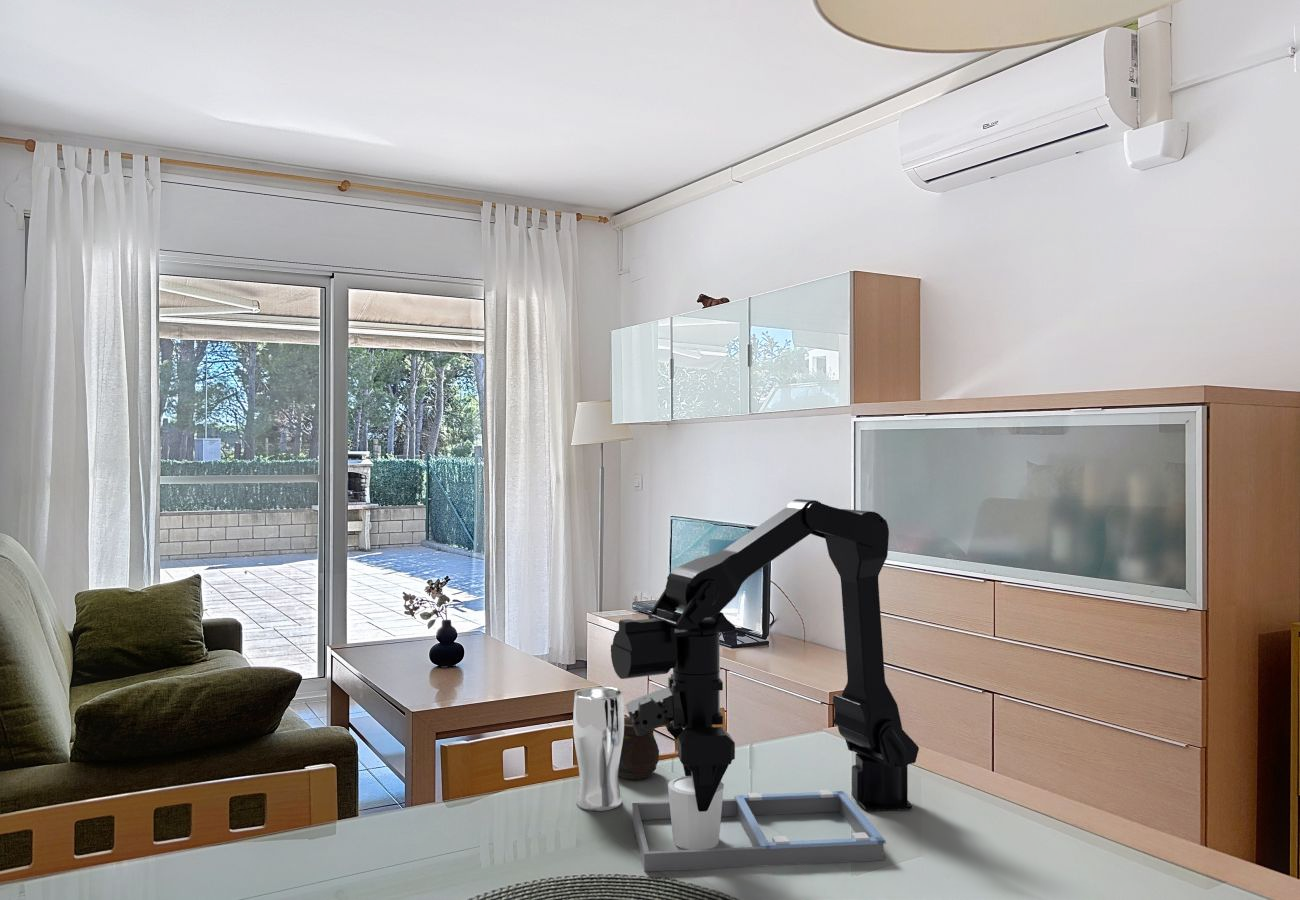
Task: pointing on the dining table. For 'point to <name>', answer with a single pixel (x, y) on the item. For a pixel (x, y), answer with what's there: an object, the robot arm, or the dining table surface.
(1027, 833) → the dining table surface
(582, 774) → the beer glass
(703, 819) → the light grey cup
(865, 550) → the robot arm
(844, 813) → the two-slot open tray
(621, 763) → the mate gourd
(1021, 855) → the dining table surface
